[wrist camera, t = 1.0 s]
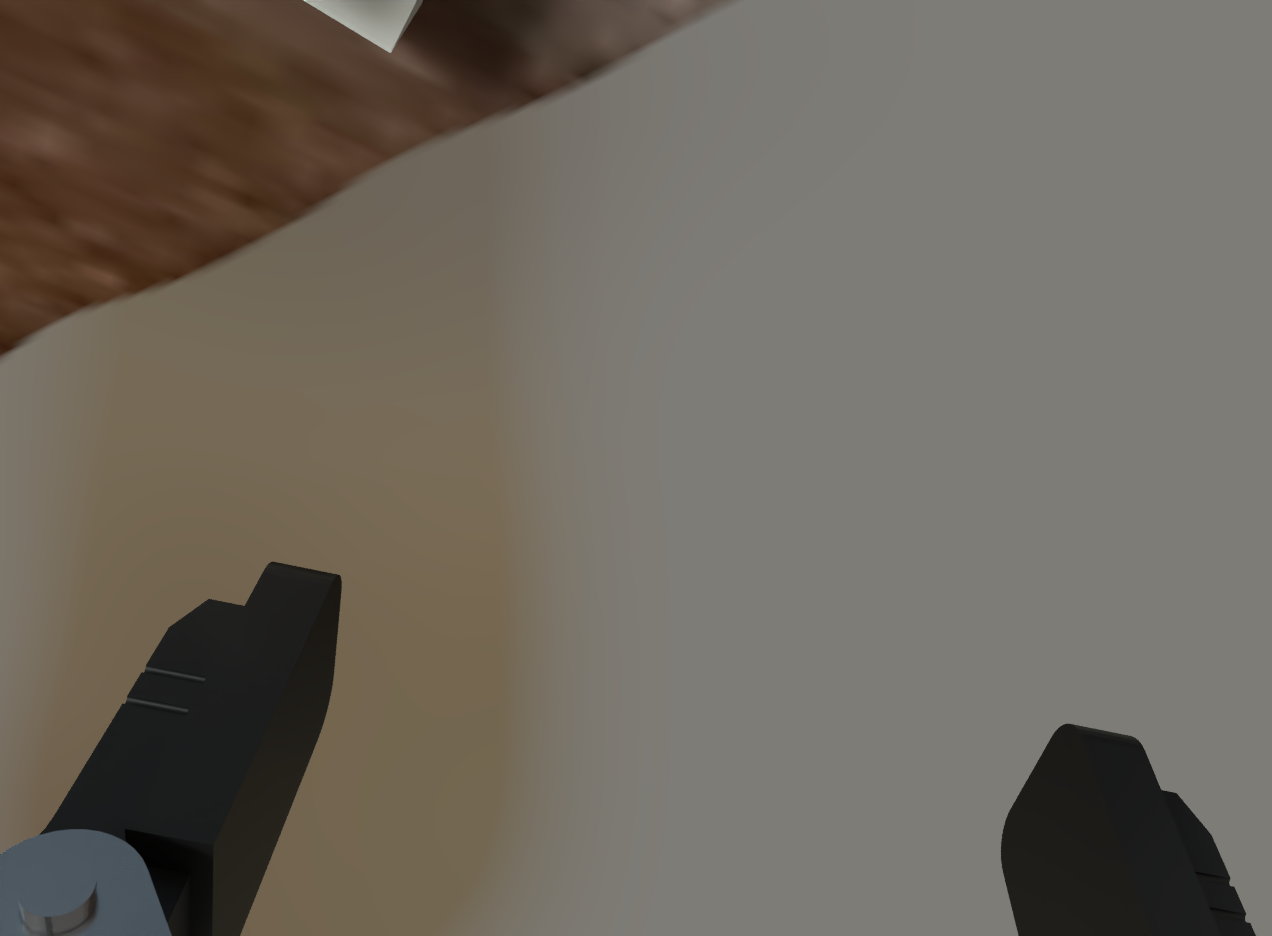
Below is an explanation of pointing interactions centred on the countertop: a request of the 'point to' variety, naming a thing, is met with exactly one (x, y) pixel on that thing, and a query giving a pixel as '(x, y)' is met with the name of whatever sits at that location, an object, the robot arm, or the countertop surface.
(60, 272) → the countertop surface
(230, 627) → the robot arm
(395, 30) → the key housing
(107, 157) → the countertop surface
